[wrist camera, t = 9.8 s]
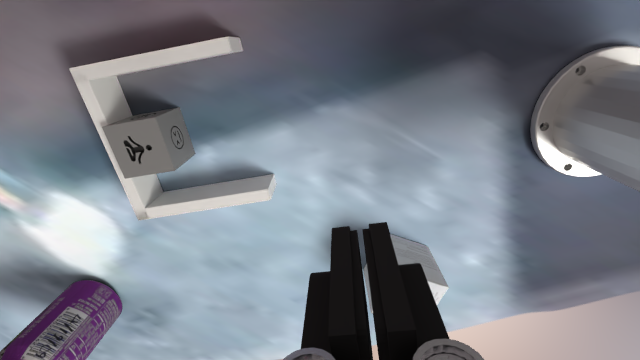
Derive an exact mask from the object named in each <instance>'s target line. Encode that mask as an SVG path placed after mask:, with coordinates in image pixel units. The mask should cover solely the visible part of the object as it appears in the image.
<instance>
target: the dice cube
mask: <svg viewBox="0 0 640 360" xmlns="http://www.w3.org/2000/svg"><path fill="white" fill-rule="evenodd" d="M102 129H103V131H104V133H105V135H106V138H107V140H108V142H109V144H110V147H111V149H112V151H113V153H114V156H115V158H116V160H117V162H118V165H119V167H120V169H121V171H122V173H123V176H124V178H125V179H126V178H132V177H139V176H145V175H151V174H157V173H163V172H169V171H175V170H176V169H178V168H179V167H180V166H181V165H182V164H184V163H185V162H186V161H187V160H188V159H190V158H191V157H192V156H193V155H194V154H195V151H194V148H193V145H192V142H191V139H190V137H189V134H188V131H187V128H186V125H185V122H184V119H183V116H182V113H181V110H180V107H178V108H172V109H167V110H161V111H156V112H150V113H145V114H139V115H134V116H131V117H128V118H125V119H122V120H120V121H117V122H114V123H111V124H109V125H106V126H103V127H102Z"/></svg>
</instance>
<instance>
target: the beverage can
mask: <svg viewBox="0 0 640 360" xmlns="http://www.w3.org/2000/svg"><path fill="white" fill-rule="evenodd" d="M121 312H122V302H121V300H120V298H119V296H118V295H117V294H116V293H115V292H114V291H113V290H112V289H111V288H110V287H108V286H106V285H104V284H102V283H100V282H97V281H92V280H81V281H77V282H75V283H73V284H71V285H70V286H69V287H68V288H67V289H66V290H65V291H64V292H63V293H62V294H61V295H60V296H59V297H57V298H56V299H55V300H54V301H53V302H52V303H51V304H50V305H49V306H48V307H47V308H46V309H45V310H44V311H43V312H42V313H41V314H39V315H38V316H37V317H36V318H35V319H34V320H33V321H32V322H31V323H30V324H29V325H28V326H27V327H26V328H25V329H24V330H23V331H21V332H20V333H19V334H18V335H17V336H16V337H15V338H14V339H13V340H12V341H11V342H10V343H9V344H8V345H7V346H6V347H5V348H3V349H2V350H1V352H0V360H86V358H87V357H88V356H89V355H90V353H91V352H92V351H93V349H94V348H95V347H96V345H97V344H98V343H99V341H100V340H101V339H102V338H103V336H104V335H105V334H106V332H107V331H108V330H109V328H110V327H111V326H112V324H113V323H114V322H115V321H116V319H117V318H118V317H119V315H120V314H121Z"/></svg>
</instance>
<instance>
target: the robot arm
mask: <svg viewBox="0 0 640 360" xmlns="http://www.w3.org/2000/svg"><path fill="white" fill-rule="evenodd" d="M530 132H531V141H532V144H533V147H534V150H535V152H536V153H537V155H538V156H539V158H540V159H541V160H542V161H543V162H544V163H545V164H546V165H548V166H549V167H551V168H553V169H554V170H556V171H558V172H560V173H562V174H565V175H570V176H575V177H590V176H596V175H601V174H603V175H605V176H607V177H609V178H611V179H613V180H615V181H618V182H620V183H622V184H624V185H626V186H628V187H630V188H633V189H635V190H637V191H639V192H640V47H635V46H611V47H606V48H600V49H598V50H595V51H592V52H589V53H587V54H585V55H583V56H581V57H579V58H577V59H576V60H574V61H572V62H571V63H570V64H568V65H567V66H566V67H564V68H563V69H562V70H561V71H560V72H559V73H558V74H557V75H556V76H555V77H554V78H553V79H552V80H551V81H550V82H549V84H548V85H547V86H546V88H545V89H544V90H543V92H542V93H541V95H540V97H539V99H538V101H537V103H536V105H535V108H534V111H533V115H532V119H531V127H530ZM363 237H364V245H365V253H366V261H367V269H368V277H369V285H370V293H371V301H372V309H373V317H374V324H375V332H376V340H377V347H378V355H379V360H484V359H483V358H482V356H481V355H480V354H479V353H478V352H476V351H475V350H474V349H472V348H471V347H470V346H468V345H465V344H464V343H461V342H459V341H456V340H451V339H449V337H448V334H447V331H446V329H445V326H444V323H443V321H442V318H441V315H440V313H439V310H438V307H437V305H436V302H435V300H434V297H433V294H432V292H431V289H430V286H429V284H428V281H427V278H426V276H425V273H424V270H423V268H422V266H421V264H420V263H413V264H403V265H398V262H397V258H396V254H395V251H394V247H393V243H392V240H391V236H390V232H389V229H388V225H387V222H384V223H375V224H369V229H363ZM283 360H373V357H372V347H371V338H370V329H369V320H368V311H367V302H366V294H365V287H364V279H363V272H362V264H361V257H360V249H359V242H358V235H357V230H354V231H350V227H349V226H347V227H338V228H332V241H331V269H330V271H329V272H318V273H311V274H310V279H309V287H308V295H307V304H306V312H305V320H304V328H303V336H302V344H301V349H300V350H297V351H294V352H293V353H291V354H290V355H288V356H287V357H285V358H284V359H283Z"/></svg>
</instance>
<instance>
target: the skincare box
mask: <svg viewBox="0 0 640 360" xmlns="http://www.w3.org/2000/svg"><path fill="white" fill-rule="evenodd" d="M390 236H391V240H392V243H393V247H394V251H395V254H396V258H397V262H398V265H403V264H413V263H420V264H421V266H422V268H423V270H424V273H425V276H426V278H427V281H428V284H429V286H430V289H431V292H432V294H433V297H434V300H435V302H436V305H437V304H438V303H439V301H440V300H441V298H442V297H443V295H444V294H445V292H446V291H447V289H448V288H449V287H448V285H447V283H446V281H445V279H444V277H443V275H442V273H441V271H440V269H439V267H438V265H437V263H436V261H435V259H434V258H433V256H432V254H431V252H430V250H429V248H428V247H427V246H425V245H422V244H419V243H416V242H413V241H410V240H407V239H404V238H401V237H398V236H395V235H392V234H390ZM364 275H365V281H366V287H367V292H368V298H369V304H370V309H371V313H373V309H372V301H371V293H370V285H369V277H368V269H367V263H366V265H365V268H364Z"/></svg>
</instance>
